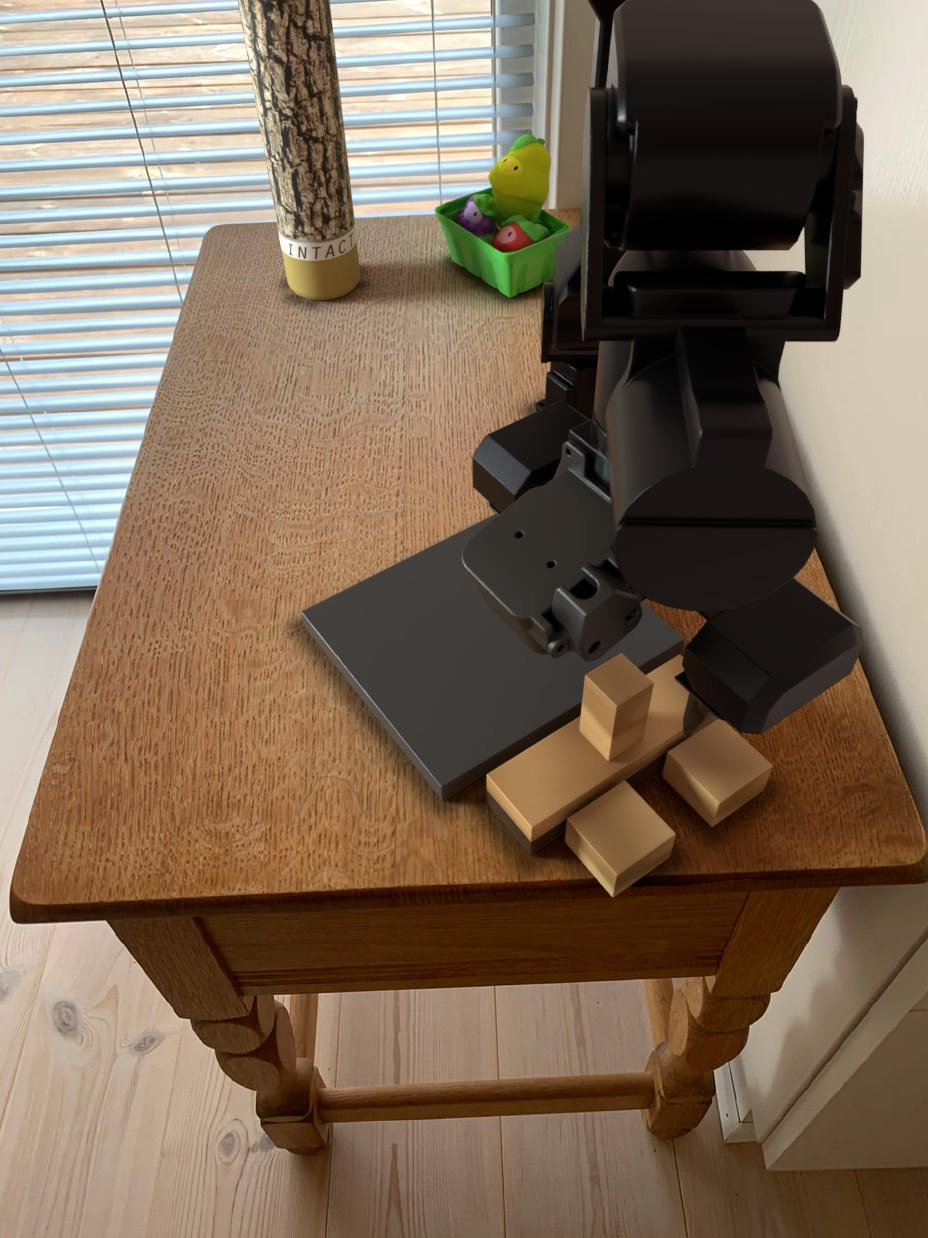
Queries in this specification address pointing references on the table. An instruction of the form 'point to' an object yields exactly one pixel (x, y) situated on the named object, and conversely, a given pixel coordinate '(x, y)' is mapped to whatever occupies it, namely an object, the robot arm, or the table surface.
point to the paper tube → (304, 141)
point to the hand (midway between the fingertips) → (628, 669)
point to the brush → (592, 750)
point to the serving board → (459, 665)
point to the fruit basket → (507, 222)
